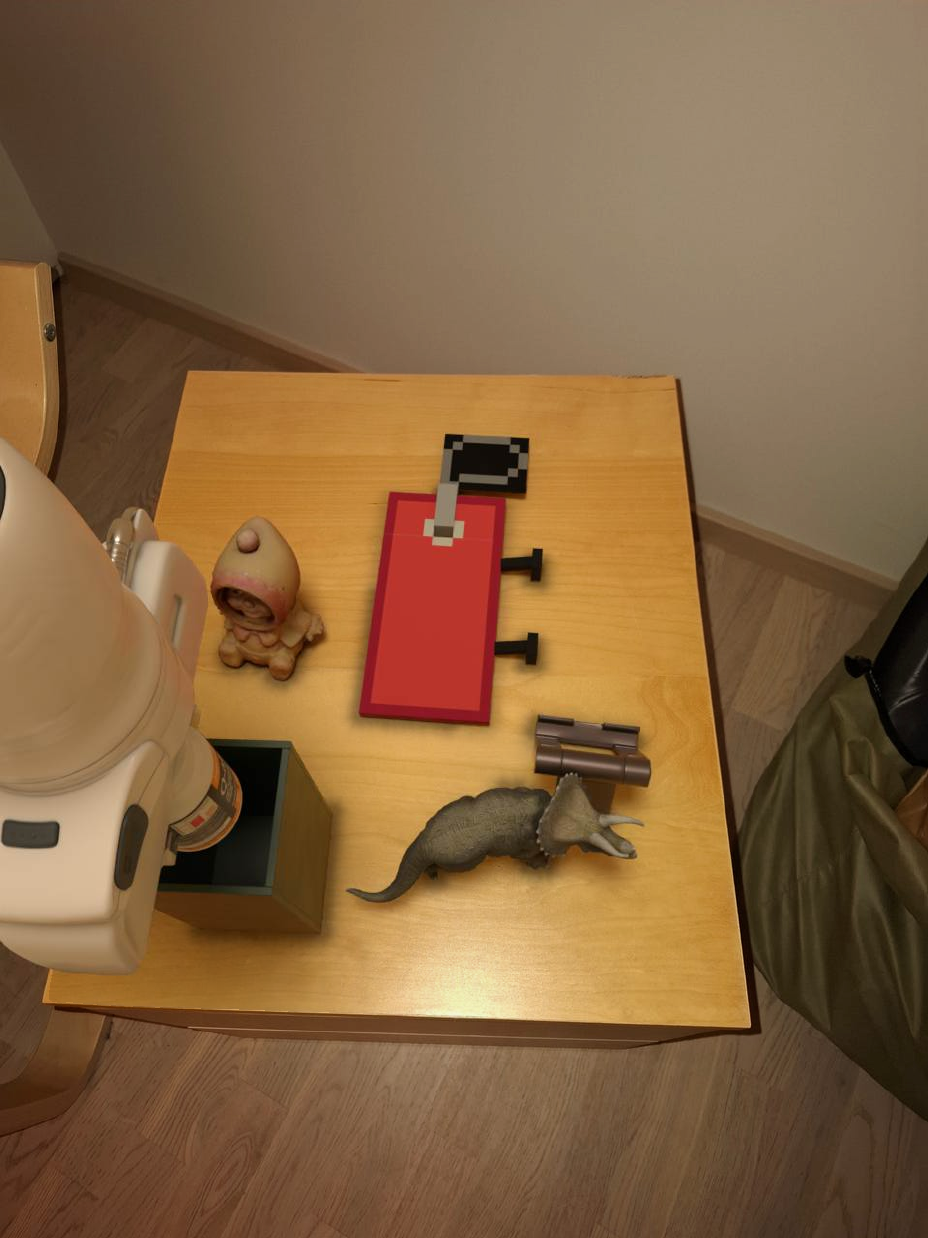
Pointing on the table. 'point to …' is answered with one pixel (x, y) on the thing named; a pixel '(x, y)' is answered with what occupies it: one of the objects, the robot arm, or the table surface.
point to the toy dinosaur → (507, 833)
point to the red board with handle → (446, 589)
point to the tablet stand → (591, 756)
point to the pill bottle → (202, 795)
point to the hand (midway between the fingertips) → (174, 787)
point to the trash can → (258, 851)
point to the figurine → (261, 600)
